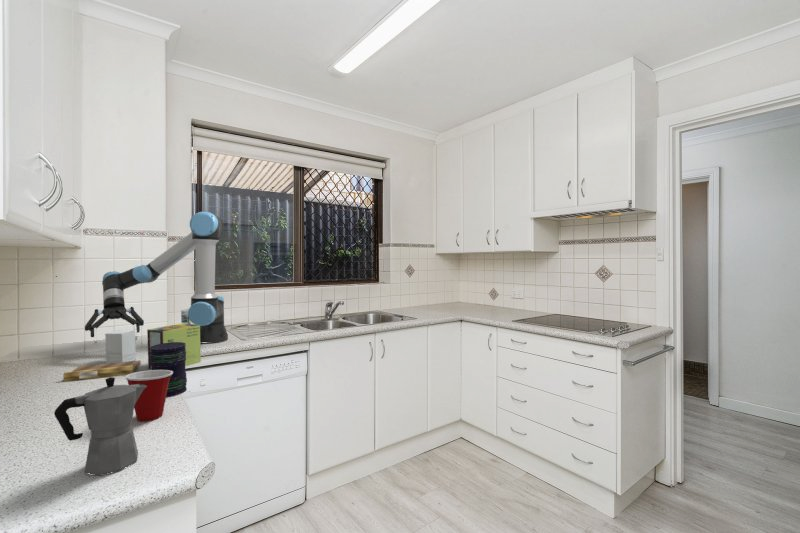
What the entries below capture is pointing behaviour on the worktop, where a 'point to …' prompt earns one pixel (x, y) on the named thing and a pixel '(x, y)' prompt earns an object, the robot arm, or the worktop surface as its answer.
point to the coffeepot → (105, 425)
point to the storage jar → (171, 364)
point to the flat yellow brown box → (102, 370)
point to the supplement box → (120, 346)
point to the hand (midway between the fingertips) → (116, 340)
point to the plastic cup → (150, 393)
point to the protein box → (177, 340)
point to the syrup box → (185, 317)
